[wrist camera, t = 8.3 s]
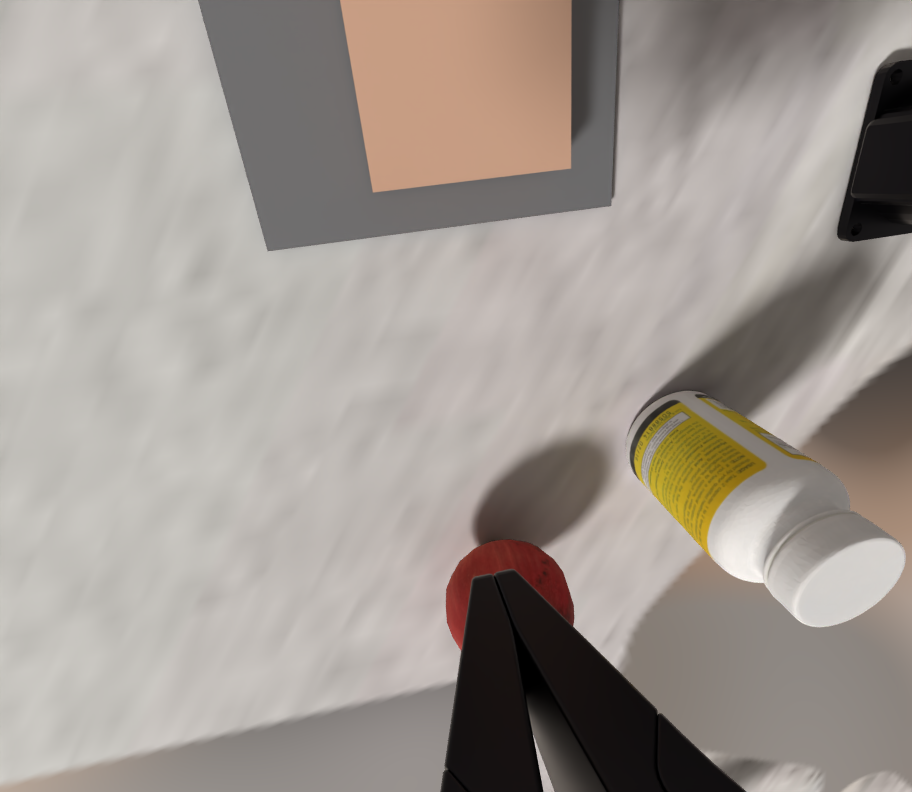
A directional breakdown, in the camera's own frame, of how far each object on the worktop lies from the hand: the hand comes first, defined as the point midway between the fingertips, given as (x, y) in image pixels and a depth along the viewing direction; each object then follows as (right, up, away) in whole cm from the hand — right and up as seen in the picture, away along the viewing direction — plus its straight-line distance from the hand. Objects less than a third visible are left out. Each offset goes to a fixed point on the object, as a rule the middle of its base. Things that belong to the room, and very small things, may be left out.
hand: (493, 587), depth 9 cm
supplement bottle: (+10, +2, +15) cm, 18 cm away
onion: (+1, -4, +16) cm, 17 cm away
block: (-4, +14, +5) cm, 15 cm away
